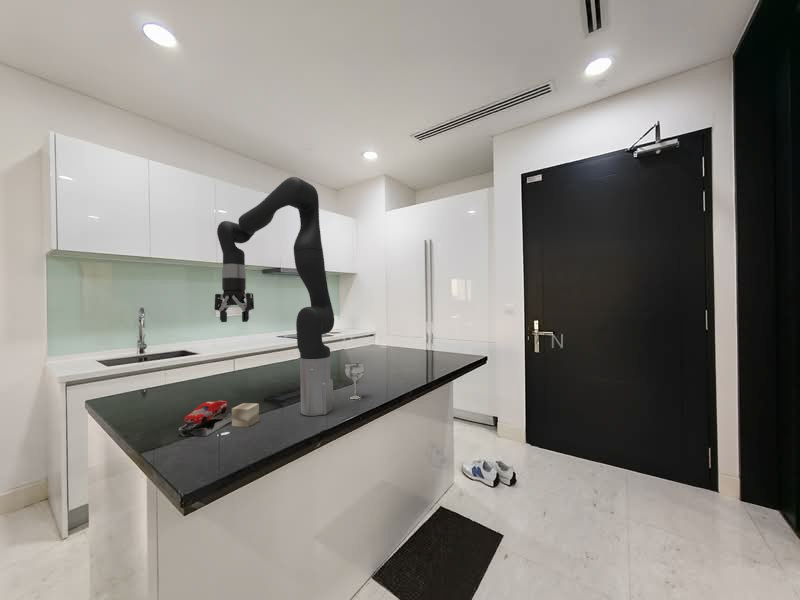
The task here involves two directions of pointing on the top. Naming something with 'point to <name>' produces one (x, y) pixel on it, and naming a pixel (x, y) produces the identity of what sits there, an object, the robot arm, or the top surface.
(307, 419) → the top surface
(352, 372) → the wineglass
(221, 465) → the top surface
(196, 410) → the race car
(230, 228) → the robot arm
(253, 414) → the birch block
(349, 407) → the top surface
